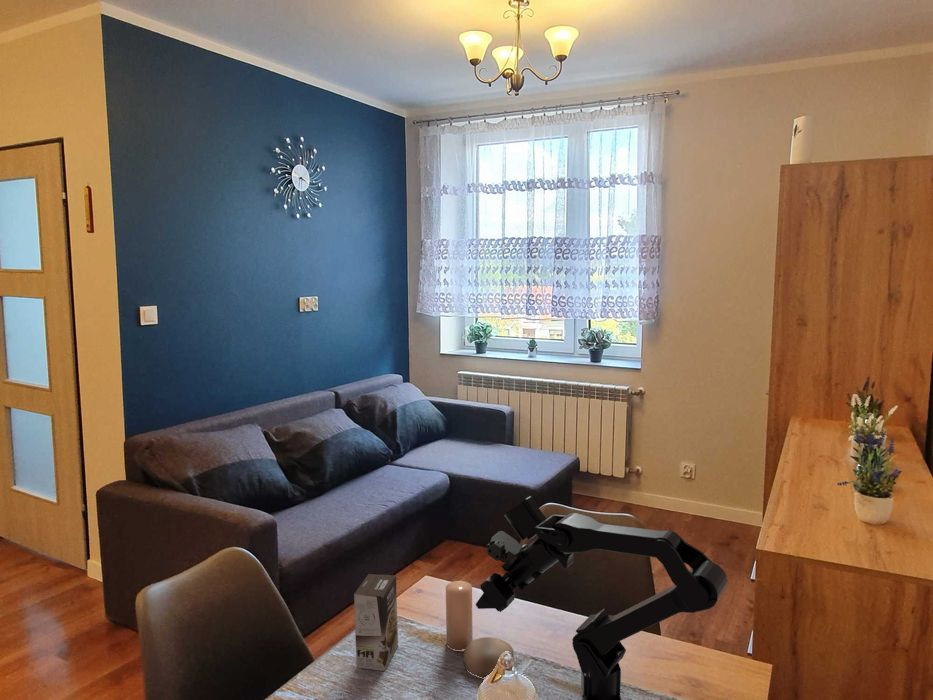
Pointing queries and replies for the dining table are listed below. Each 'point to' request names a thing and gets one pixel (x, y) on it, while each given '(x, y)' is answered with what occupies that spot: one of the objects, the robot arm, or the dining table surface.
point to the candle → (459, 614)
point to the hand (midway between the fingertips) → (487, 595)
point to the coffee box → (376, 621)
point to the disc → (484, 655)
